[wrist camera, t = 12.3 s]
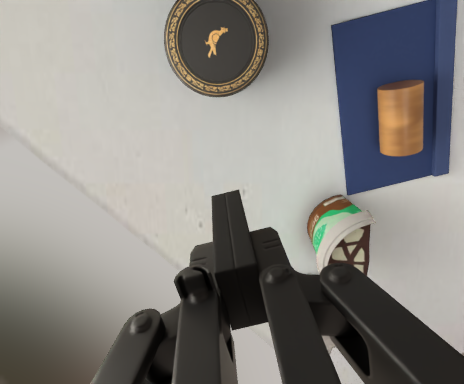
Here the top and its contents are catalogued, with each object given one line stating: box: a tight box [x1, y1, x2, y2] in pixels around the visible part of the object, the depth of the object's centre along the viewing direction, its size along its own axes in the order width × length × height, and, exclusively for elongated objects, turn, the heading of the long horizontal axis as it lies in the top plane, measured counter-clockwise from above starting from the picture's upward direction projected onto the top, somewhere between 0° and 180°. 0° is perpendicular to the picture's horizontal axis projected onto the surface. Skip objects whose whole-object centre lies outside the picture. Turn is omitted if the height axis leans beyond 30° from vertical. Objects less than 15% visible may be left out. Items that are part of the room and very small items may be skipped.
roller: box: [377, 80, 424, 156], centre depth 38 cm, size 8×5×5 cm
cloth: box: [331, 0, 457, 195], centre depth 40 cm, size 22×14×1 cm, turn 13°
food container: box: [307, 195, 376, 276], centre depth 42 cm, size 12×6×10 cm, turn 6°
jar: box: [164, 0, 269, 97], centre depth 32 cm, size 10×10×8 cm
